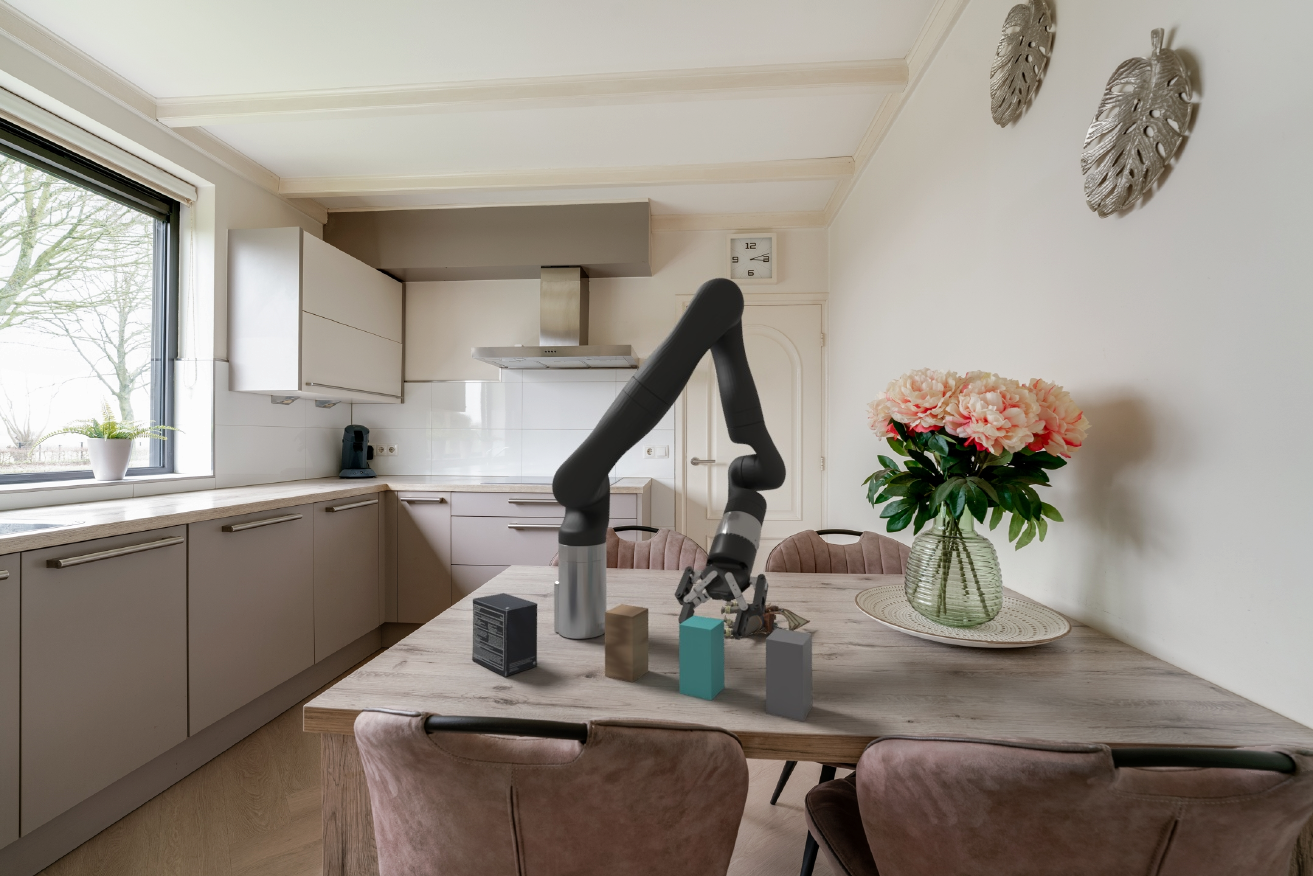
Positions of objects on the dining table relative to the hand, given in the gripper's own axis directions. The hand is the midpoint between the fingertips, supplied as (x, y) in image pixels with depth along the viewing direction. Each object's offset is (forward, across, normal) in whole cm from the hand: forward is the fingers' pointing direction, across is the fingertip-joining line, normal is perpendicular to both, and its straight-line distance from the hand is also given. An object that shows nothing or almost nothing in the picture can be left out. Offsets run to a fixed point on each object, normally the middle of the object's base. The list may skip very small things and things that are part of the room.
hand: (709, 632), depth 86 cm
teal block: (+7, 0, +4) cm, 8 cm away
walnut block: (+7, -13, +4) cm, 15 cm away
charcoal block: (+7, +13, +4) cm, 15 cm away
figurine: (-13, 0, +25) cm, 28 cm away
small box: (+11, -33, 0) cm, 35 cm away
